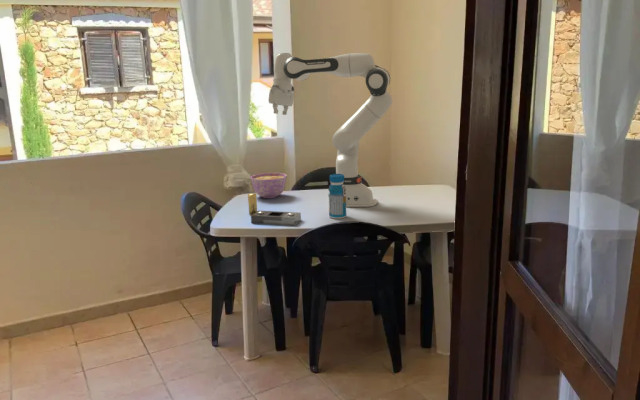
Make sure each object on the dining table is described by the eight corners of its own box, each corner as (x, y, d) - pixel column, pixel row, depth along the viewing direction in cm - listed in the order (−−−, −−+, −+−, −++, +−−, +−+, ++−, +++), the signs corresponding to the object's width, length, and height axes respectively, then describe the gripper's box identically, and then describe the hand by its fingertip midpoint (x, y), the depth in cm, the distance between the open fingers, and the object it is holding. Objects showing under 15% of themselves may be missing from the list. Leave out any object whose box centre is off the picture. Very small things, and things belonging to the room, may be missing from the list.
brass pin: (258, 213, 256) (257, 193, 253) (255, 215, 252) (254, 195, 250) (251, 212, 257) (249, 193, 254) (247, 214, 253) (246, 195, 251)
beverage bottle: (333, 220, 240) (332, 177, 235) (326, 215, 247) (324, 174, 242) (349, 217, 243) (349, 175, 238) (341, 213, 250) (341, 172, 246)
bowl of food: (294, 194, 292) (293, 174, 290) (273, 202, 276) (272, 181, 273) (266, 191, 303) (265, 171, 300) (244, 198, 287) (242, 178, 284)
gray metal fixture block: (300, 219, 242) (300, 211, 241) (294, 225, 233) (294, 216, 232) (259, 217, 248) (258, 209, 247) (251, 222, 239) (250, 214, 238)
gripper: (277, 84, 250) (276, 113, 252) (296, 88, 269) (294, 115, 271) (266, 83, 253) (264, 112, 255) (285, 88, 272) (283, 115, 273)
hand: (280, 114), depth 263 cm, fingers open, 8 cm apart
